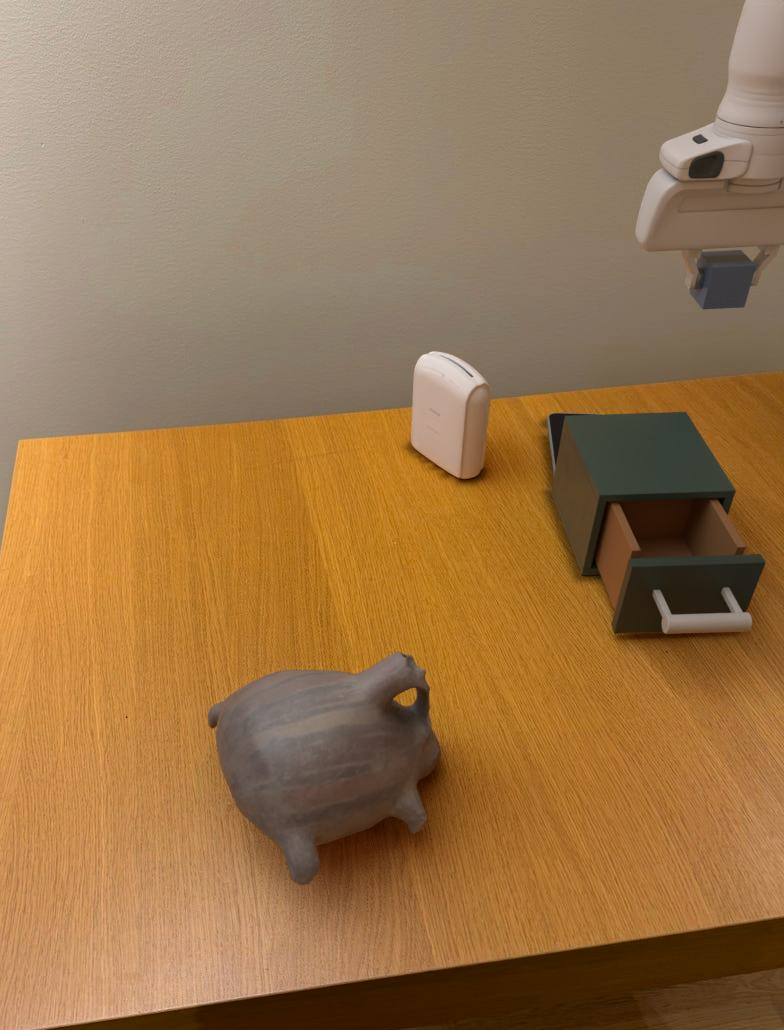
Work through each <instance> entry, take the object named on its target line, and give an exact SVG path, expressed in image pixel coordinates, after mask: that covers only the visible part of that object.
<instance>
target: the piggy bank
mask: <svg viewBox="0 0 784 1030" xmlns="http://www.w3.org/2000/svg"><path fill="white" fill-rule="evenodd" d="M426 674H427V670H426V669H425V668H423V667H420V666H418V664H417V663H416V661H415V659H414V657H413V655H412V654H406V653H402V652H401V651H396V652H393V653H392V654H390V655H388V656H386V657H384V658H382V659H381V660H380V661H378V662H376V663H374V664H373V665H372V666H370V667H368V668H366V669H364V670H361V671H360V672H356V673H352V672H347V671H340V670H326V669H287V670H279V671H274V672H272V673H269V674H266V675H264V676H262V677H259V678H256V679H254V680H253V681H250V682H249V683H247V684H246V685H243V686H242V687H240V688H239V689H237V690H236V691H234V692H233V693H231V694H230V695H229V696H228V697H226V699H225V700H223V701H219V702H217V703H215V704H214V705H212V706H211V708H210V709H209V711H208V713H207V723H208V726H209V728H210V729H212V730H214V729H215V742H216V750H217V756H218V762H219V766H220V769H221V772H222V775H223V778H224V780H225V782H226V785H227V788H228V791H229V792H230V794H231V797H232V798H233V801H234V803H235V805H236V807H237V809H238V811H239V812H240V813H241V815H242V816H243V817H244V818H245V819H247V820H248V821H249V822H250V823H251V824H252V825H253V826H254V827H255V828H257V830H259V832H261V833H262V834H263V835H264V836H266V837H267V839H269V840H271V841H272V842H273V843H275V844H276V846H278V847H279V849H280V850H281V851H282V854H283V856H284V859H285V862H286V868H287V870H288V872H289V876H290V880H291V881H292V882H293V883H295V884H297V885H300V886H307V885H310V884H311V883H312V882H313V881H314V880H315V878H317V877H318V876H319V874H320V869H321V868H320V866H321V861H320V857H319V852H318V847H317V845H323V844H328V843H331V842H334V841H337V840H341V839H344V838H345V837H349V836H351V835H355V834H358V833H361V832H363V831H365V830H368V829H371V828H372V827H374V826H375V825H377V824H379V823H380V822H382V821H383V820H384V819H386V818H390V817H393V818H397V819H399V820H400V821H403V822H405V824H406V825H407V828H408V831H409V832H410V833H412V834H417V833H418V832H420V831H421V830H423V829H424V828H425V827H426V824H427V820H428V814H427V812H426V810H425V808H424V806H423V802H422V799H421V795H420V793H419V790H418V788H417V787H418V786H417V785H418V784H419V781H420V780H422V779H425V778H426V777H428V776H429V775H430V774H431V773H432V772H433V771H434V770H435V768H436V767H437V765H438V763H439V761H440V759H441V756H442V749H441V748H442V746H441V745H440V742H439V740H438V737H437V736H436V734H435V732H434V730H433V727H432V720H431V717H430V711H431V710H430V709H431V706H430V705H431V704H430V691H431V687H430V685H429V683H428V682H427V680H426ZM411 689H415V691H416V697H415V700H414V702H413V703H412V704H411V705H407V706H406V705H403V704H401V703H399V702H398V701H397V700H395V698H396V697H397V696H399V695H401V694H403V693H404V692H405V691H409V690H411Z"/></svg>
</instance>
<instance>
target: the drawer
mask: <svg viewBox="0 0 784 1030" xmlns="http://www.w3.org/2000/svg"><path fill="white" fill-rule="evenodd" d="M746 549H747V545H746V543H745V542H744V540H743V539H742V537H741V535H740V534H739V532H738V531H737V529H736V527H735V525H734V524H733V522H732V520H731V519H730V516H729V514H728V515H727V514H726V512H725V510H724V509H723V507H722V505H721V504H720V502H719V500H718V499H717V498H699V499H669V500H639V501H610V502H606V505H605V509H604V514H603V518H602V522H601V527H600V531H599V535H598V540H597V544H596V548H595V552H594V559H595V562H596V565H597V567H598V570H599V572H600V575H599V576H600V577H601V580H602V582H603V584H604V587H605V590H606V592H607V595H608V597H609V599H610V603H611V605H612V608H613V610H614V613H613V616H612V621H611V625H610V626H611V629H612V632H613V633H614V634H636V633H637V634H639V633H641V634H642V633H663V634H665V635H670V634H673V635H675V634H700V633H701V634H704V633H707V634H708V633H734V632H735V633H736V632H737V633H738V632H749V631H750V630H752V627H753V617H752V615H751V613H750V612H747V611H748V609H749V607H750V603H751V601H752V599H753V596H754V593H755V591H756V588H757V586H758V583H759V581H760V579H761V576H762V573H763V570H764V569H765V566H766V561H765V558H764V557H763V555H762V554H760V553H756V554H755V553H754V554H753V553H752V554H745V552H746Z"/></svg>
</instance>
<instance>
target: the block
mask: <svg viewBox="0 0 784 1030" xmlns="http://www.w3.org/2000/svg"><path fill="white" fill-rule="evenodd" d="M752 261H753V260H752V259H750V258H749V256H748V255H746V254H745V252H744V251H743V250H742V249H731V250H713V251H711V250H710V251H702V253H701V257H700V258H699V259H696V265H697V268H701V269H702V270H703V271H704V272H705V273H706V276H705V280H704V281H703V283H704V284H703V287H702V288H699V289H689V294H690V295H691V297H692V298H693V299H694V301H695V302H696V304H698V306H699V307H700V308H701V310H723V309H738V308H745V307H746V303H747V299H748V296H749V293H750V289H751V287H752V286H751V282H752V279H753V275H754V272H755V268H756V265H755V264H754V263H753V262H752Z"/></svg>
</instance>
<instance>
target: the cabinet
mask: <svg viewBox="0 0 784 1030" xmlns="http://www.w3.org/2000/svg"><path fill="white" fill-rule="evenodd" d="M736 492H737V490H736V488H735V486H734V485H733V483H732V482H731V480H730V478H729V477H728V475H727V473H726V472H725V471H724V469H723V467H722V466H721V465H720V463H719V461H718V460H717V458H716V456H715V455H714V454H713V452H712V450H711V448H710V447H709V445H708V443H707V442H706V441H705V439H704V438H703V436H702V435H701V433H700V431H699V430H698V428H697V426H696V425H695V423H694V422H693V420H692V419H691V417H690V416H689V414H688V412H687V411H670V412H669V411H668V412H665V411H664V412H639V413H638V412H635V413H634V412H633V413H610V414H609V413H608V414H607V413H605V414H603V415H576V416H565V418H564V424H563V429H562V435H561V440H560V446H559V451H558V457H557V462H556V468H555V474H554V473H553V480H552V485H551V490H550V495H551V497H552V500H553V502H554V505H555V508H556V511H557V513H558V516H559V518H560V521H561V524H562V526H563V529H564V532H565V535H566V537H567V540H568V542H569V543H568V544H569V546H570V548H571V552H572V553H573V556H574V559H575V561H576V564H577V567H578V570H579V573H580V575H581V576H601V575H600V572H599V570H598V567H597V565H596V562H595V559H594V552H595V548H596V544H597V540H598V535H599V531H600V527H601V522H602V518H603V514H604V509H605V505H606V502H610V501H639V500H669V499H699V498H717V499H718V500H719V502H720V504H721V505H722V507H723V509H724V510H725V512H726V514H727V515H728V516H729V512H730V509H731V508H732V504H733V500H734V498H735V495H736Z"/></svg>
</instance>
